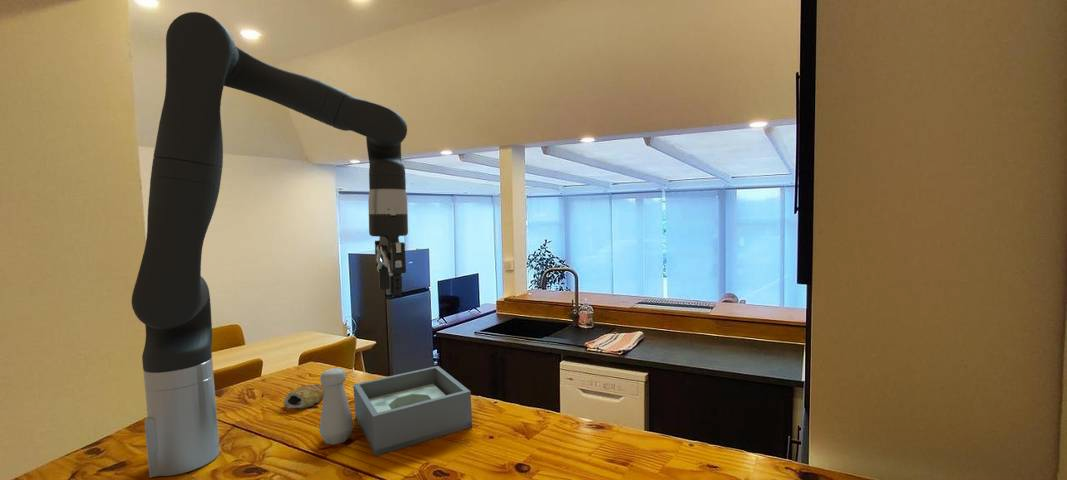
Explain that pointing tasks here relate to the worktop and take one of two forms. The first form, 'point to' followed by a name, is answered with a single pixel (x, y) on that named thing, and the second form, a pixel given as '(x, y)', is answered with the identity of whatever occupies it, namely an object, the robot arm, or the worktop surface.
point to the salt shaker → (335, 408)
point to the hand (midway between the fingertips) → (390, 292)
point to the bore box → (411, 408)
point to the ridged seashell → (304, 396)
